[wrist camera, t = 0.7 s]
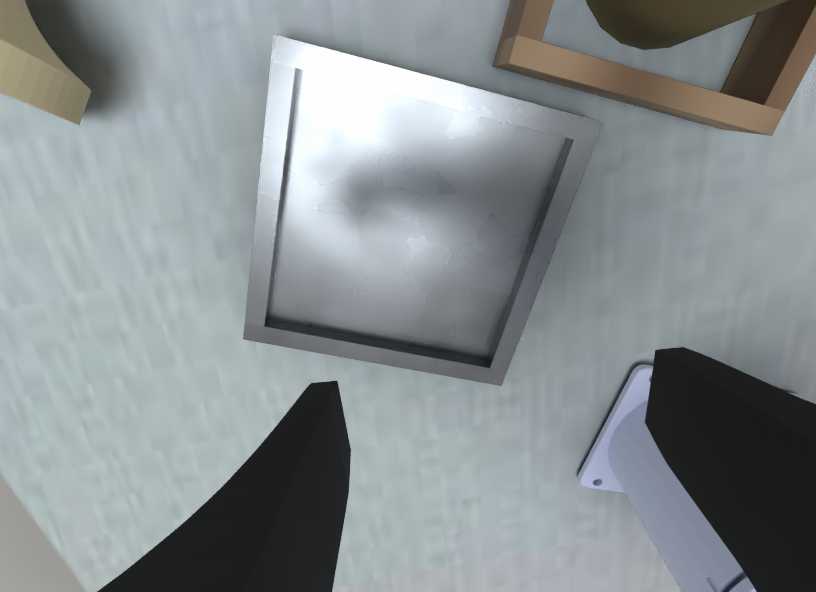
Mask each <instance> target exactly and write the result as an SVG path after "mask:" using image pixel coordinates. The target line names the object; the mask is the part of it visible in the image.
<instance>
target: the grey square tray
mask: <svg viewBox="0 0 816 592" xmlns="http://www.w3.org/2000/svg"><path fill="white" fill-rule="evenodd" d="M602 125H603V122H601V121H598V120H594V119H590V118H586V117H583V116H579V115H575V114H571V113H568V112H564V111H560V110H556V109H553V108H549V107H545V106H541V105H538V104H534V103H530V102H526V101H522V100H519V99H515V98H511V97H507V96H504V95H500V94H496V93H492V92H489V91H485V90H481V89H477V88H474V87H470V86H466V85H462V84H459V83H455V82H451V81H447V80H443V79H440V78H436V77H432V76H428V75H425V74H421V73H417V72H413V71H410V70H406V69H402V68H398V67H395V66H391V65H387V64H383V63H380V62H376V61H372V60H368V59H364V58H361V57H357V56H353V55H349V54H346V53H342V52H338V51H334V50H331V49H327V48H323V47H319V46H316V45H312V44H308V43H304V42H301V41H297V40H293V39H289V38H285V37H282V36H278V35H273V45H272V55H271V66H270V76H269V86H268V96H267V106H266V116H265V126H264V136H263V146H262V156H261V166H260V176H259V186H258V196H257V206H256V216H255V226H254V236H253V246H252V256H251V266H250V276H249V286H248V296H247V306H246V316H245V326H244V337H243V339H244V340H250V341H256V342H261V343H267V344H272V345H278V346H283V347H289V348H294V349H300V350H306V351H311V352H317V353H322V354H328V355H333V356H339V357H344V358H350V359H355V360H361V361H367V362H372V363H378V364H383V365H389V366H394V367H400V368H405V369H411V370H417V371H422V372H428V373H433V374H439V375H444V376H450V377H455V378H461V379H467V380H472V381H478V382H483V383H489V384H494V385H500V386H501V385H502V383H503V380H504V378H505V375H506V372H507V370H508V367H509V365H510V362H511V360H512V357H513V354H514V352H515V349H516V347H517V344H518V341H519V339H520V336H521V334H522V331H523V329H524V326H525V323H526V321H527V318H528V316H529V313H530V311H531V308H532V305H533V303H534V300H535V298H536V295H537V292H538V290H539V287H540V285H541V282H542V280H543V277H544V274H545V272H546V269H547V267H548V264H549V261H550V259H551V256H552V254H553V251H554V249H555V246H556V243H557V241H558V238H559V236H560V233H561V231H562V228H563V225H564V223H565V220H566V218H567V215H568V212H569V210H570V207H571V205H572V202H573V200H574V197H575V194H576V192H577V189H578V187H579V184H580V182H581V179H582V176H583V174H584V171H585V169H586V166H587V163H588V161H589V158H590V156H591V153H592V151H593V148H594V145H595V143H596V140H597V138H598V135H599V132H600V130H601V127H602Z"/></svg>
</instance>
